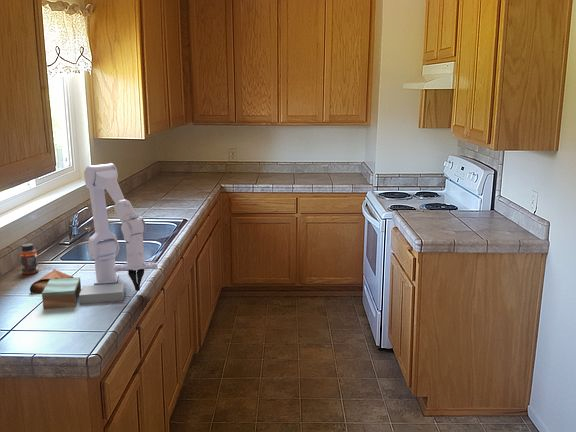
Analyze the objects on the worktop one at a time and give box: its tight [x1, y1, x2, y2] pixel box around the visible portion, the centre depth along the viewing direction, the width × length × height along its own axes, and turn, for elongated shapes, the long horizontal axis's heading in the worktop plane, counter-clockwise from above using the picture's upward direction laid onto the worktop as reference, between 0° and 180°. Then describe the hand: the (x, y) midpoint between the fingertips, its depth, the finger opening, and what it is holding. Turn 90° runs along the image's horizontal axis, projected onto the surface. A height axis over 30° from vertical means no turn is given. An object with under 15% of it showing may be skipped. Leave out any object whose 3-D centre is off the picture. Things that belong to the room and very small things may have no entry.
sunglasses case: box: [29, 268, 74, 294], centre depth 203 cm, size 18×7×7 cm
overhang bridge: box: [41, 277, 82, 310], centre depth 188 cm, size 13×10×6 cm
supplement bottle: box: [19, 242, 39, 275], centre depth 216 cm, size 6×6×11 cm
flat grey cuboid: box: [78, 282, 126, 305], centre depth 191 cm, size 9×14×3 cm, turn 102°
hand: (137, 289), depth 194 cm, fingers closed
